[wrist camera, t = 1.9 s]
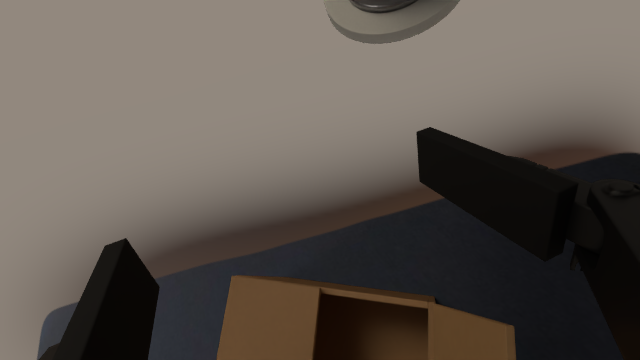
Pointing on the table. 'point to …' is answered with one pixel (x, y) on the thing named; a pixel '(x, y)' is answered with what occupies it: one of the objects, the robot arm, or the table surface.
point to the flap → (470, 336)
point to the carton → (323, 322)
